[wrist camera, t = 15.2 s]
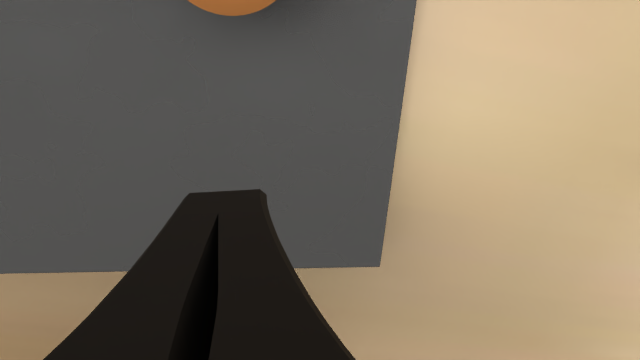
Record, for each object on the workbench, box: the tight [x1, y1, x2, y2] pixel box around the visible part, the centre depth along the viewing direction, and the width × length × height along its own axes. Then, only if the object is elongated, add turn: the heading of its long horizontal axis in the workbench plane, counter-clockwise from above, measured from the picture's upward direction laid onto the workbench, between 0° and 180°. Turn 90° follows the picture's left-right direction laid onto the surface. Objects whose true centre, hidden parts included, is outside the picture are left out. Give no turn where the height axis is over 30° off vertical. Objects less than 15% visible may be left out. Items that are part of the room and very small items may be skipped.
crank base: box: [0, 0, 416, 274], centre depth 17 cm, size 18×16×1 cm
